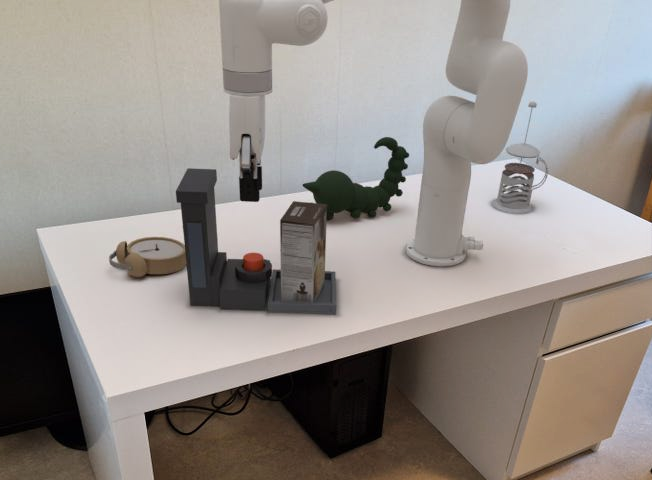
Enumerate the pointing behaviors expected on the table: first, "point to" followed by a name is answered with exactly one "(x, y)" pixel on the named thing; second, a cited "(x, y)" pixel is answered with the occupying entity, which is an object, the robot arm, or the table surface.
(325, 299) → the pan
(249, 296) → the button base
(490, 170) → the table surface
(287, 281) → the coffee box
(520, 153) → the french press
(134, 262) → the alarm clock
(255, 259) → the brew button
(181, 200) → the coffee machine tank
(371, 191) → the toy figurine
